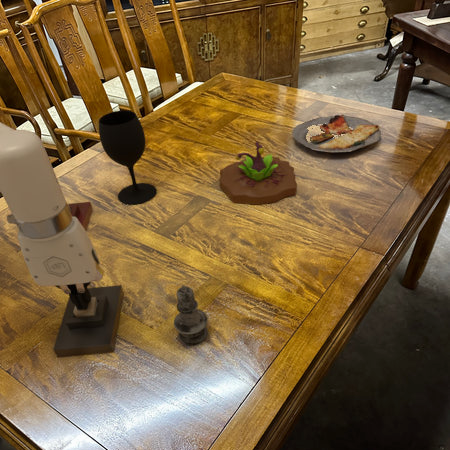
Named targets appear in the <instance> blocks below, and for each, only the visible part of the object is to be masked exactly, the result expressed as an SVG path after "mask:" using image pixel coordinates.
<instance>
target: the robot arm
mask: <svg viewBox="0 0 450 450" xmlns="http://www.w3.org/2000/svg"><path fill="white" fill-rule="evenodd" d="M0 194H1V195H2V198H3V199H4V201H5V203H6V205H7V207H8V209H9V210H10V214H7V215H6V221H7V222H8V224H9V225H10V224H14V225H16V226H17V228H18V231H17V239H18V240H17V241H18V243H19V247H20V250H21V254H22V257H23V259H24V262H25V264H26V265H25V266H26V267H27V269H28V271H29V274H30V275H31V278H32V279H33V281H34V282H35V284H36V285H38V286H41V287H56V288H58V289H59V290H61V291H62V292H63V293H64V294H65V295H68V298H69V297H70V299H71V301H72V303H73V304H75V306H76V308H77V310H81V309H84V310H85V309H87V308H88V304H89V302H91V294H90V292H89V290H88V288H89V286H90V284H92V282H98V281H100V280H102V279H104V275H105V272H104V270H103V268H102V267H101V266H100V259H99V255H98V253H97V250H96V248H95V246H94V244H93V242H92V240H91V237H90V236H89V234H88V232H87V230H86V231H85V229H84V228H83V226H82V225H81V223H80V222H79V220H78V219H77V218H76V217H72V215H71V212H70V210H69V207H68V205H67V204H68V202H67V199H66V197H65V195H64V192H63V190H62V187H61V185H60V182H59V180H58V177H57V175H56V172H55V170H54V167H53V165H52V162H51V160H50V157H49V154H48V153H47V150H46V148H45V145H44V142H43V141H42V139H41V138H40V136H38V135H37V133H35V132H33V131H31V130H27V129H13V128H12V127H10V126H8V125H7V124H4V123H3V122H1V121H0Z"/></svg>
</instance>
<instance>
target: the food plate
mask: <svg viewBox="0 0 450 450" xmlns="http://www.w3.org/2000/svg"><path fill="white" fill-rule="evenodd" d="M325 123H326V124H325ZM318 124H323V125H321V126H320V129H321V131H323V132H325V133H321V134H320V135H319V134H318V135H316V136H312V137H310V141H311V142H310V143H308V141H307V139H306V135H307V133H308V131H309V130H308V129H307V128H308V127H310V126H312V125H316V126H317V125H318ZM349 127H351V128H353V130H351V129H350V128H349ZM312 129H313V128H312ZM381 132H382V131H381V129H380V125H379V124H374V123H373V122H372V121H369V120H367V119H365V118H361V117H356V116H350V115H344V114H343V113H342V114H341V115H340V114H335V115H328V116H320V117H317V118H316V117H315V118H313V119H310V120H307V121H304V122H302V123H299V124H297V125H296V126H294V127H293V129H292V136H293V137H292V138H293V139H294V140H295V141H296V142H298V143H299V144H301V145H302V146H303V147H307V148H309V149H311V150H313V151H316V152H317V151H318V152H324V153H326V152H327V153H347V152H350V153H351V152H353V151H356V150H358V149H362V148H365V147H367V146H370V145H372V144H374V143H378V141H380V140H381V139H382V135H381ZM332 134H334V135H338V138H336V139H335V137H334V135H332ZM341 134H345V135H343V136H341ZM339 135H340V136H339ZM333 137H334V138H333ZM336 137H337V136H336Z"/></svg>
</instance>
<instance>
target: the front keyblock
mask: <svg viewBox="0 0 450 450" xmlns="http://www.w3.org/2000/svg"><path fill="white" fill-rule="evenodd" d="M88 290H89V292H90V294H91V297H96V300H97V302H98V306H97V311H96V315H95V316H85V317H76V316H75V314H74V312H73V311H74V308H75V304H73V303H72V301H71V299H70V297H69V296H68V300H67V303H66V306H65V310H64V313H63V317H62V320H61V323H60V326H59V329H58V332H57V336H56V340H55V342H54V346H53V349H52V350H53V353H55V355H56V357H57V358H64V357H65V358H66V357H77V356H86V355H97V354H109V353H115V347H116V342H117V337H118V331H119V324H120V318H121V313H122V307H123V302H124V296H125V292H124V289H123V286H122V284H119V285H108V286H98V287H88Z"/></svg>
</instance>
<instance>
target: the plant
mask: <svg viewBox="0 0 450 450" xmlns="http://www.w3.org/2000/svg"><path fill="white" fill-rule="evenodd" d="M254 146H255V147H256V148H255V150H256V154H255V156H254V155H253V154H251V153H249V152H239V153H237V154H236V155H235V159H236V160H237V161H235V162H233V163H230V164H228V165H226V166H224V168H222V169H220V170H219V176H220V177H219V179H218V182H219V183H218V184H219V188H220V189H221V190H222V191H223V193H224V194H225V195H227V197H228V198H229V199H230V201H231V202H232V203H234V204H247V205H252V206H253V205H254V206H255V205H264V204H274V203H277V202H279V201H280V200H282V199H284V198H289V197H295V196H296V195H297V190H298V189H297V188H298V185H297V181H296V173H295V167H294V166H292V165H291V164H290V162H289V161H287V160H282V159H280V157H277V156H273V154H271V153H270V154H267V155H266V156H262V155H263V154H264V153H265V148H264V146H263V144H261V143H260V142H259V141H255V143H254ZM243 156H245V159H244V160H241V159H242V157H243ZM239 160H240V161H239Z"/></svg>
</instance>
